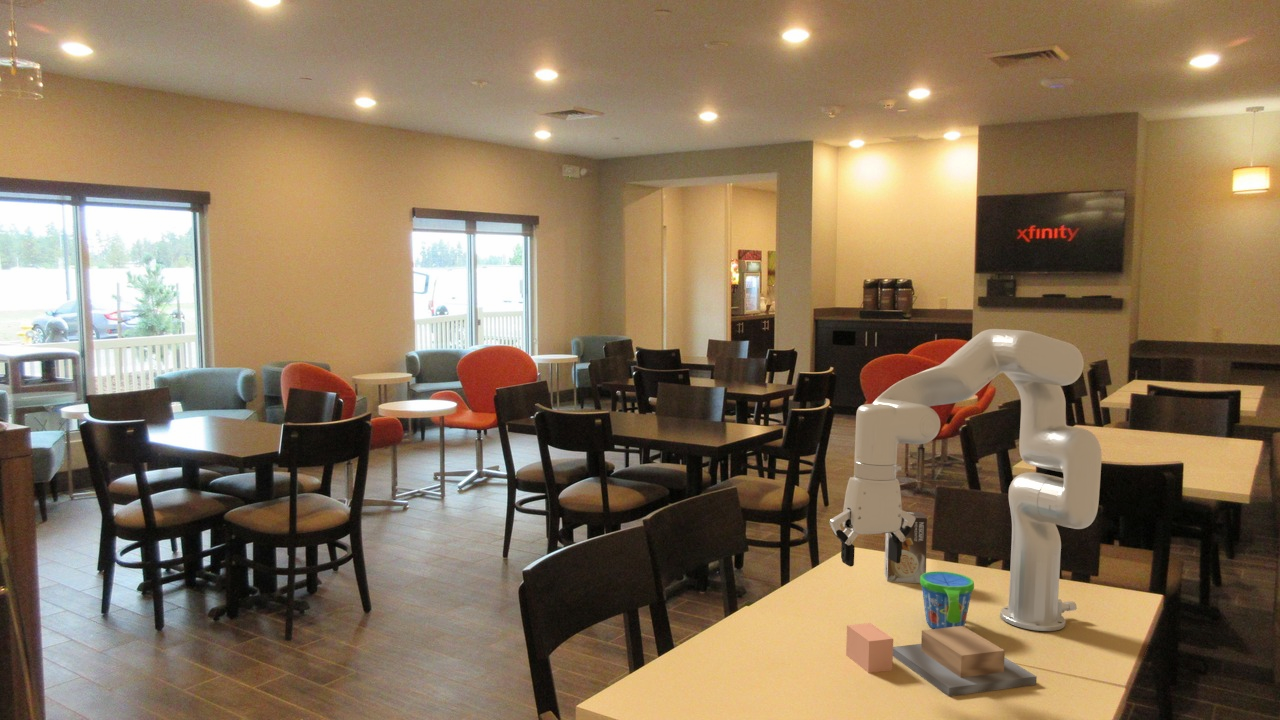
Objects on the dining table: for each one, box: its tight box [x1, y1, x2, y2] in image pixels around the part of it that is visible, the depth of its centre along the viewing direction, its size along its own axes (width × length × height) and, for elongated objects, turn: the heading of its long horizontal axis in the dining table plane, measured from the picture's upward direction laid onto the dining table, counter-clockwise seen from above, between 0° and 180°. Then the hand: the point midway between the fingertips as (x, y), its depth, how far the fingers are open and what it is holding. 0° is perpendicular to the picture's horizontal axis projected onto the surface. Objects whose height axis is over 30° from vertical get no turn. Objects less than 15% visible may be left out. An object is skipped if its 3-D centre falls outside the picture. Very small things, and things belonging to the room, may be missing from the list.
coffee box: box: [884, 510, 928, 584], centre depth 214 cm, size 9×6×16 cm
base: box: [893, 626, 1037, 697], centre depth 163 cm, size 18×18×6 cm
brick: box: [845, 622, 894, 674], centre depth 165 cm, size 5×8×6 cm, turn 16°
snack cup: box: [919, 571, 975, 629], centre depth 184 cm, size 16×10×10 cm
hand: (871, 562), depth 164 cm, fingers open, 9 cm apart
